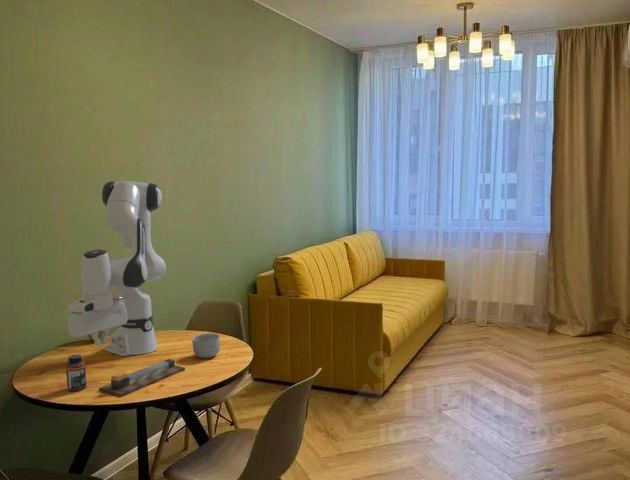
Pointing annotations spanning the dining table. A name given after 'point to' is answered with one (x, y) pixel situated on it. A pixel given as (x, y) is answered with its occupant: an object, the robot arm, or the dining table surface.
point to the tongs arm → (150, 369)
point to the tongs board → (140, 381)
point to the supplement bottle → (76, 373)
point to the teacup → (206, 345)
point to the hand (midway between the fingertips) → (100, 344)
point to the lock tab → (119, 376)
